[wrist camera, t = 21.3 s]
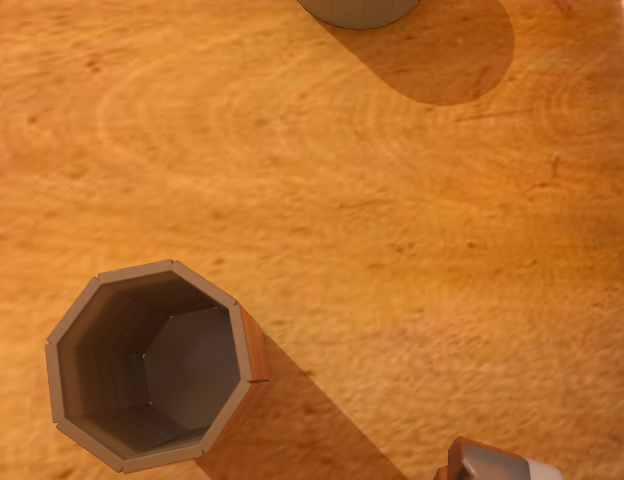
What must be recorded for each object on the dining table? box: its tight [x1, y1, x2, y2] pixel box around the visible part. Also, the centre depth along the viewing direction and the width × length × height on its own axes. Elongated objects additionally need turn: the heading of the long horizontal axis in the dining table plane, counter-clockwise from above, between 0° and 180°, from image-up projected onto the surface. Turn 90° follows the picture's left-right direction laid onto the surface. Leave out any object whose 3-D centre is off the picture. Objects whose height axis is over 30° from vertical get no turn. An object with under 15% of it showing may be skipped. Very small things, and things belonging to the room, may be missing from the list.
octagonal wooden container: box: [45, 259, 271, 474], centre depth 24 cm, size 6×6×11 cm
